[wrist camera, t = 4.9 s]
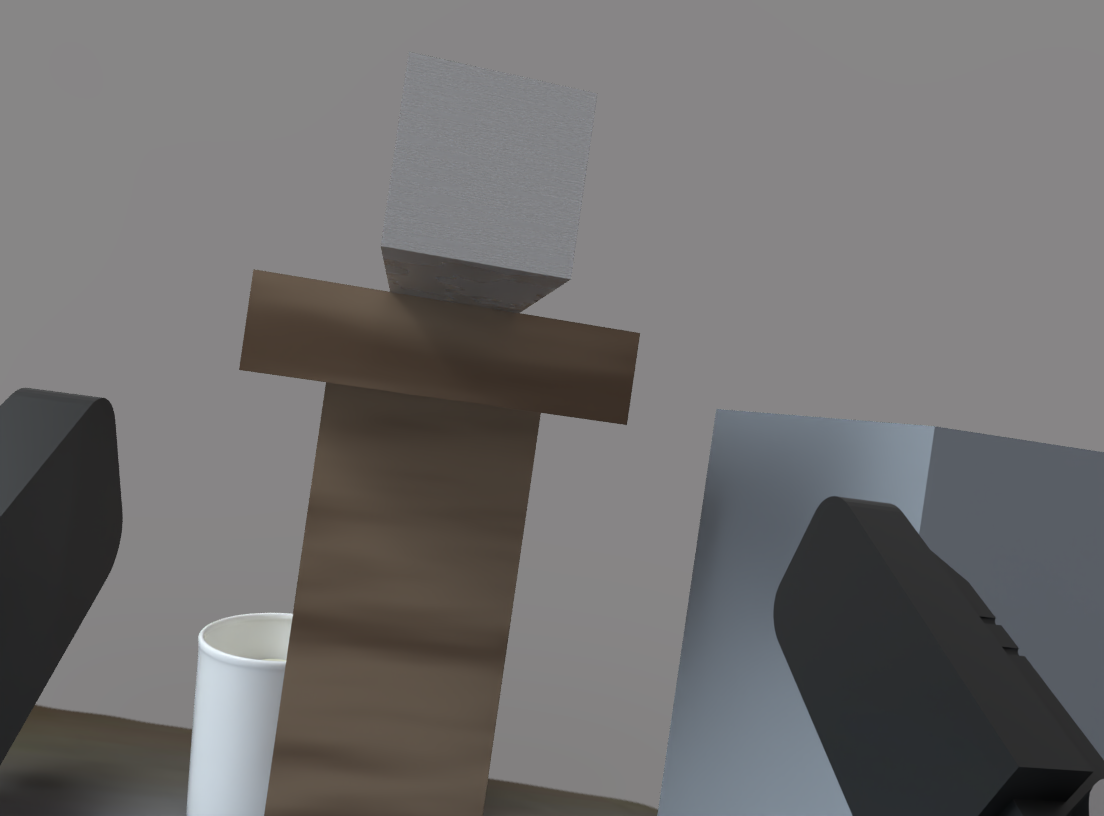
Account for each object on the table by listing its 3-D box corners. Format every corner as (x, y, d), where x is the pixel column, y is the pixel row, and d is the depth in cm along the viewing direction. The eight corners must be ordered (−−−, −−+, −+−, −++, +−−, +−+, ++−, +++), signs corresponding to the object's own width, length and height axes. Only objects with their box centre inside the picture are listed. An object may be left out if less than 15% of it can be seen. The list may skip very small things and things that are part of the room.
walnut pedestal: (529, 1304, 25) (669, 337, 25) (64, 1338, 23) (218, 263, 23) (483, 953, 41) (569, 355, 41) (205, 950, 39) (296, 313, 39)
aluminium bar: (570, 279, 17) (597, 93, 17) (380, 245, 16) (408, 51, 16) (472, 343, 42) (483, 270, 42) (398, 331, 41) (409, 257, 41)
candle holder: (216, 884, 44) (246, 673, 44) (146, 806, 50) (172, 622, 50) (362, 828, 51) (388, 647, 51) (284, 766, 58) (307, 606, 57)
